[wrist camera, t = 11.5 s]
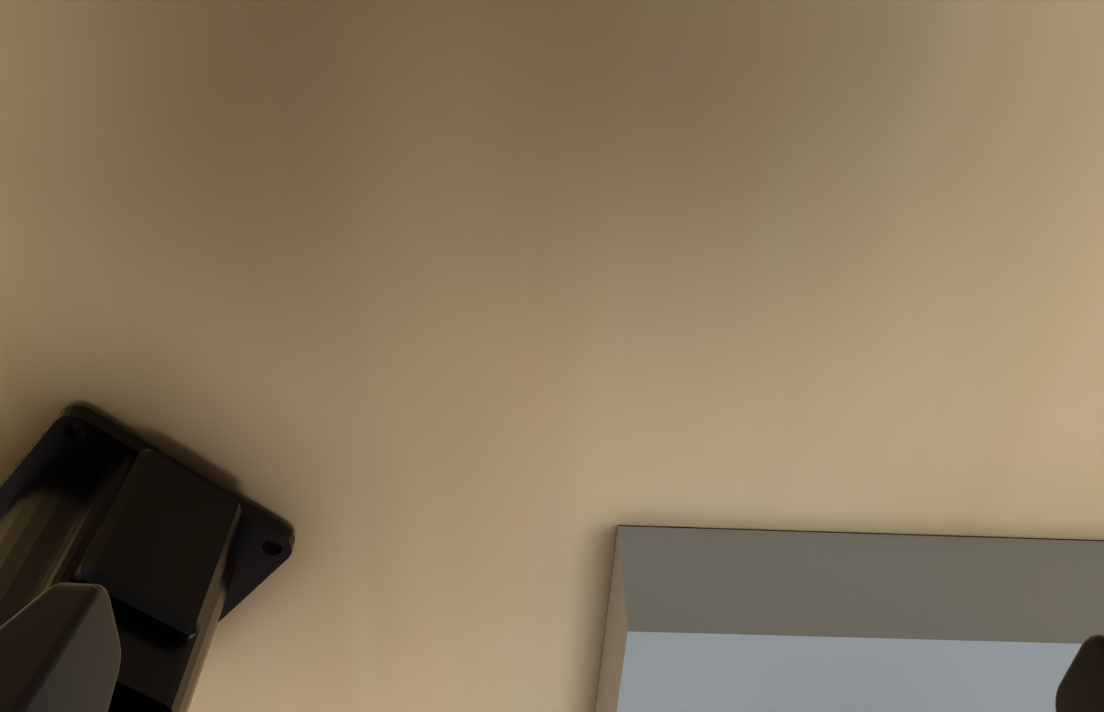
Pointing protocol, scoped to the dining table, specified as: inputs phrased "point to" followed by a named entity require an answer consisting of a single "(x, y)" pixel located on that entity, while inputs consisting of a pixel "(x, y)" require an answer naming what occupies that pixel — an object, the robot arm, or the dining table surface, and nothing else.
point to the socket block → (843, 621)
